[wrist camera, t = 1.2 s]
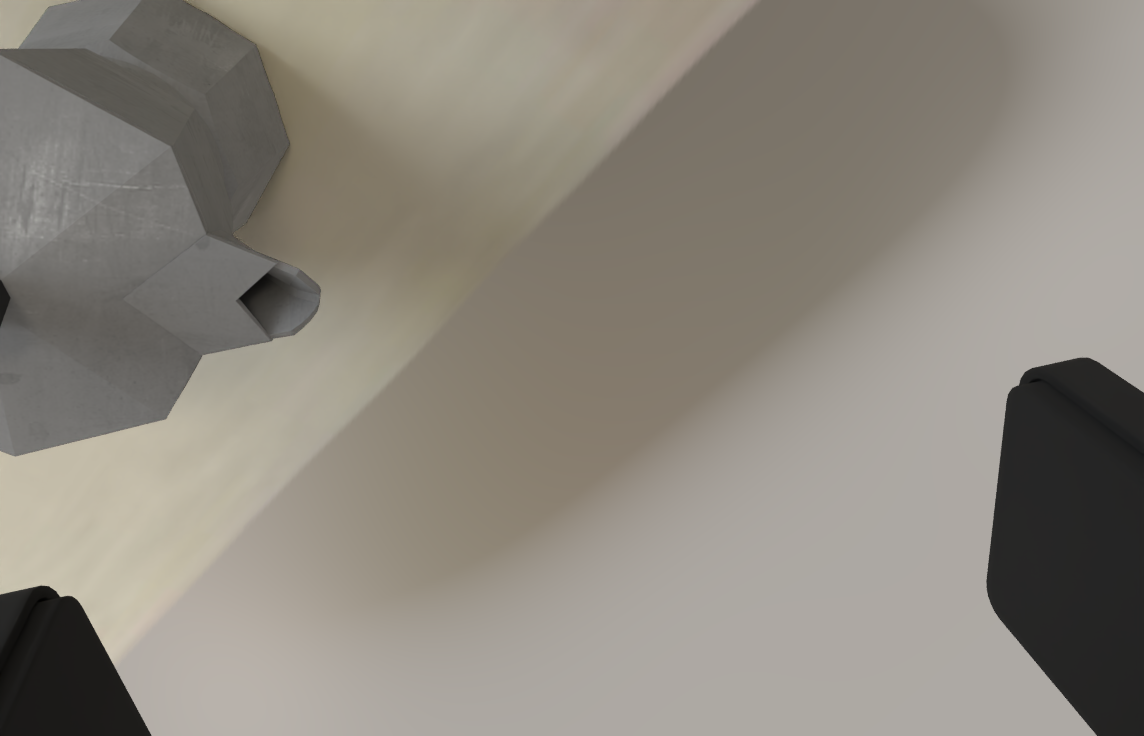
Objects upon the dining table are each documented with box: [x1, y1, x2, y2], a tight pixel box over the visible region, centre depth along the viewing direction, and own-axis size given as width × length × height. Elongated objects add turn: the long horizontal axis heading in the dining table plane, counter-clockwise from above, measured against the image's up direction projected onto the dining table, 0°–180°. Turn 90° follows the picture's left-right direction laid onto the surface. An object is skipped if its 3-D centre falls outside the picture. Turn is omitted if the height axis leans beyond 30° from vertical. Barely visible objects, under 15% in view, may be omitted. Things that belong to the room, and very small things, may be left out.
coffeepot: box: [0, 0, 321, 456], centre depth 25 cm, size 15×9×18 cm, turn 78°
